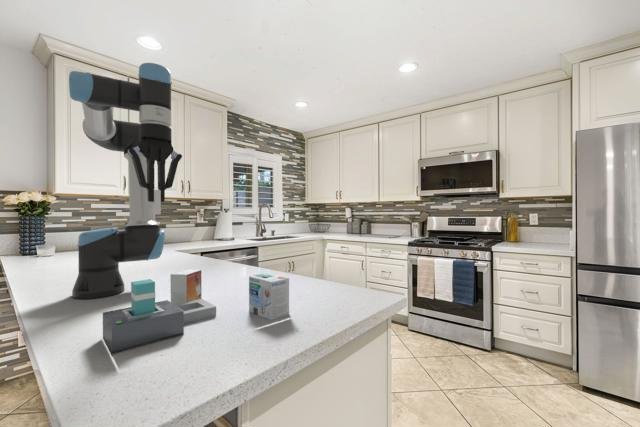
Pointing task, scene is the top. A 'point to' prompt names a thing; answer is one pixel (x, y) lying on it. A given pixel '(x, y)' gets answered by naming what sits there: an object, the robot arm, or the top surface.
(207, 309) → the holster
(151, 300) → the plug
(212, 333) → the top surface
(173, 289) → the small box
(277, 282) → the light bulb box
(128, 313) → the port panel
